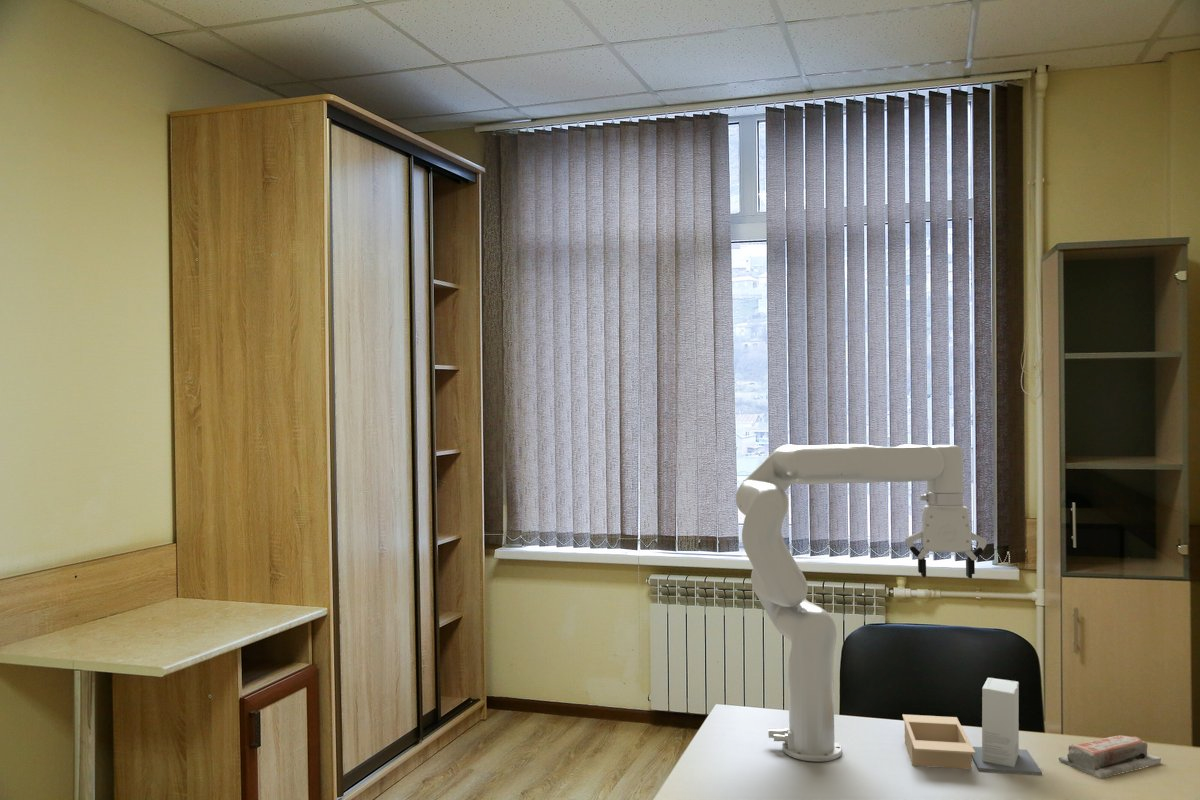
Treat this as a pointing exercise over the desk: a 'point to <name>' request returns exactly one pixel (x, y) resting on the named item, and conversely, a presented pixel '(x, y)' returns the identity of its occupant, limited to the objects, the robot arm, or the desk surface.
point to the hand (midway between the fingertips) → (946, 576)
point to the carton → (937, 742)
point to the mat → (1022, 766)
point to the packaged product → (1109, 756)
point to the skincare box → (1000, 722)
